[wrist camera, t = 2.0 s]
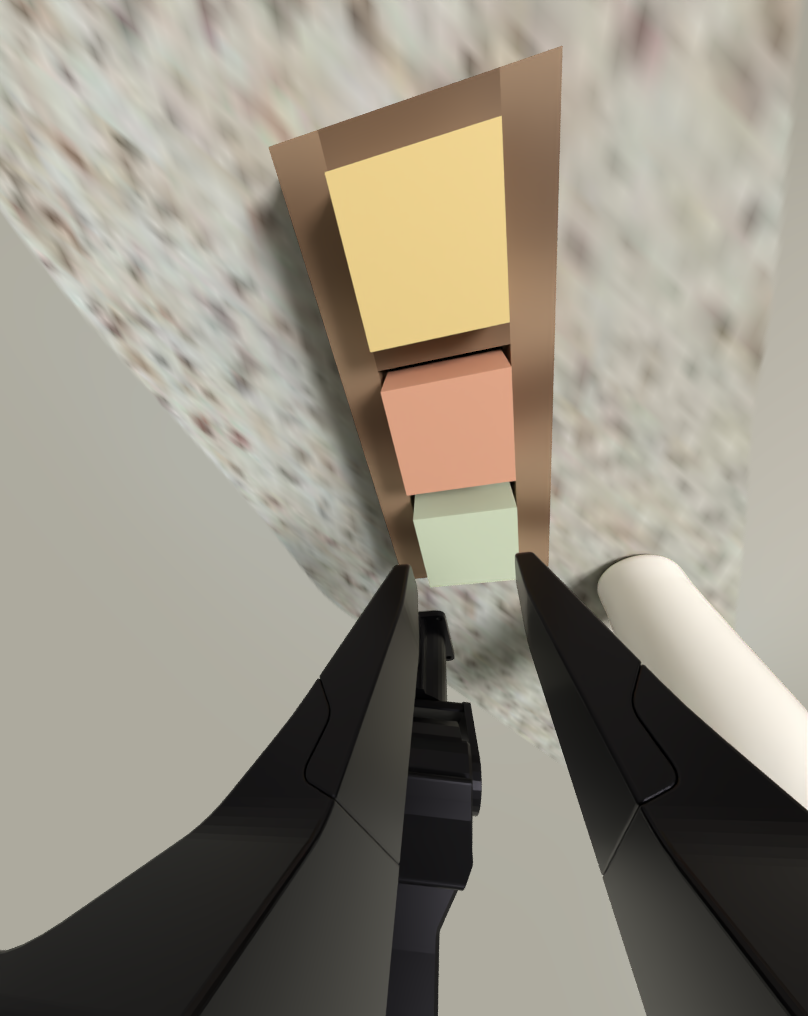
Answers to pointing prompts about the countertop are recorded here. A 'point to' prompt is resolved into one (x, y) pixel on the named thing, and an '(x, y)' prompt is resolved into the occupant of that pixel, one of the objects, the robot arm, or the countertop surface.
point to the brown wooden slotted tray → (525, 339)
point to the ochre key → (427, 236)
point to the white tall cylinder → (708, 666)
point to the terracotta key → (452, 422)
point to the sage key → (468, 534)
